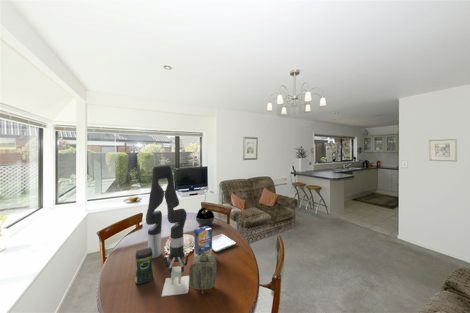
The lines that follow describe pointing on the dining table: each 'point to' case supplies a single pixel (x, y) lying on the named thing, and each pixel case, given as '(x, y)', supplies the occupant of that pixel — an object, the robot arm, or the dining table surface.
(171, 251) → the robot arm
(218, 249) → the salad plate
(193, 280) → the tabletop clock
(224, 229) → the dining table surface
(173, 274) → the cube with two prongs
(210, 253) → the beverage box
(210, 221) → the coal bowl
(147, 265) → the coffee jar
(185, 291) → the mat
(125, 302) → the dining table surface
